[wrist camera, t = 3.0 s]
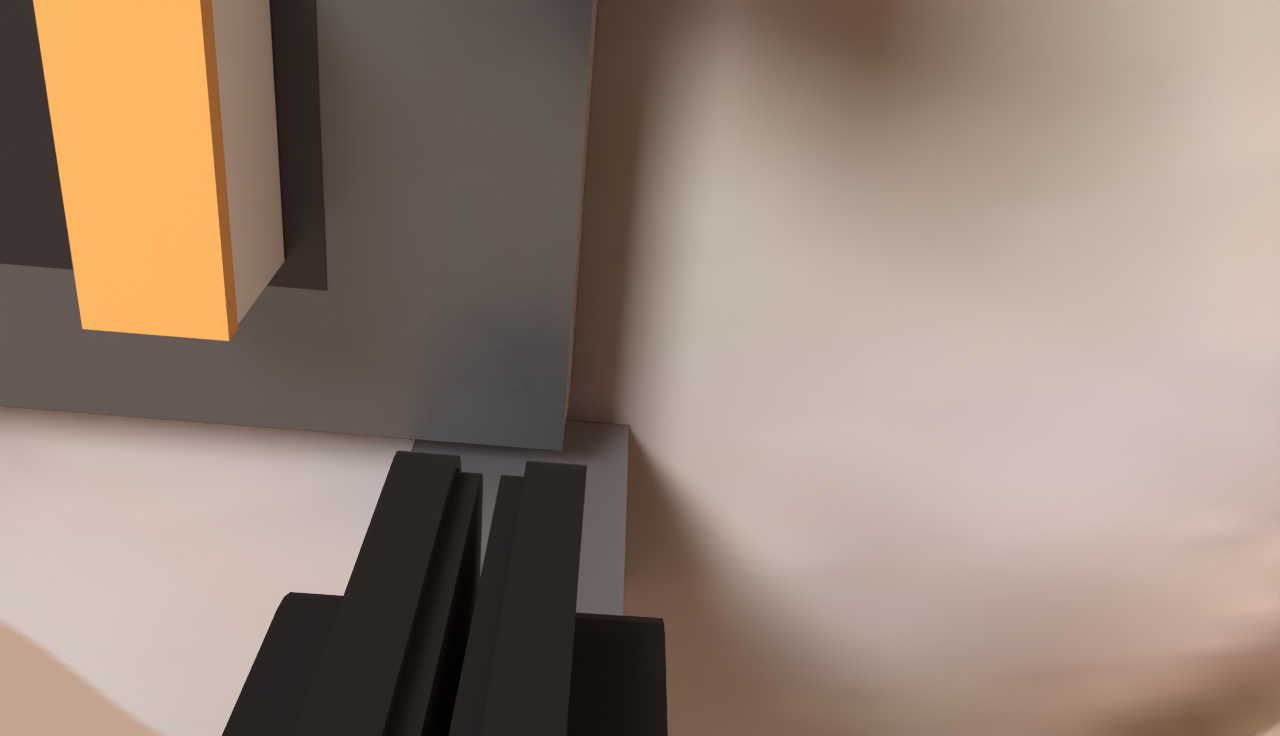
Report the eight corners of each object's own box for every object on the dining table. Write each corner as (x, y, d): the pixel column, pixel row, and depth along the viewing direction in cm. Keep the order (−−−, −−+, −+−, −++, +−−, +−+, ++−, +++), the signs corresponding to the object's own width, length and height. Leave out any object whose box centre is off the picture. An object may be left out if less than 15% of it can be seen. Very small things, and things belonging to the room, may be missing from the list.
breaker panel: (-379, -376, 21) (-533, -396, 18) (616, -275, 21) (611, -280, 19) (-190, 323, 27) (-281, 384, 25) (570, 385, 28) (562, 452, 25)
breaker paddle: (125, -67, 20) (27, -36, 17) (268, -54, 20) (198, -19, 17) (161, 250, 23) (82, 329, 20) (287, 261, 23) (228, 341, 20)
